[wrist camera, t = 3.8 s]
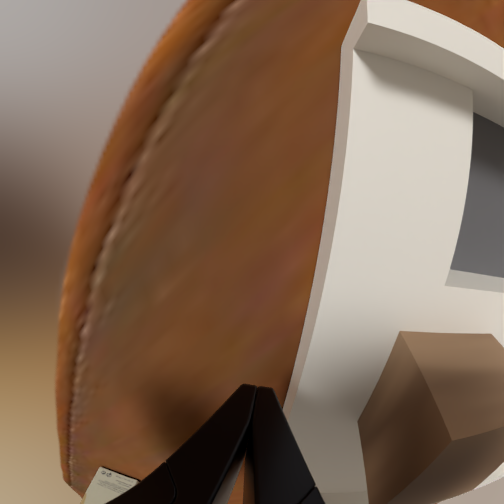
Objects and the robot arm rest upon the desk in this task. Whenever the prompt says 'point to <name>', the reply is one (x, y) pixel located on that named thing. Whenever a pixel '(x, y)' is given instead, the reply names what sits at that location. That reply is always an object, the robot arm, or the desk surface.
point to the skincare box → (107, 487)
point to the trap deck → (400, 222)
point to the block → (434, 418)
